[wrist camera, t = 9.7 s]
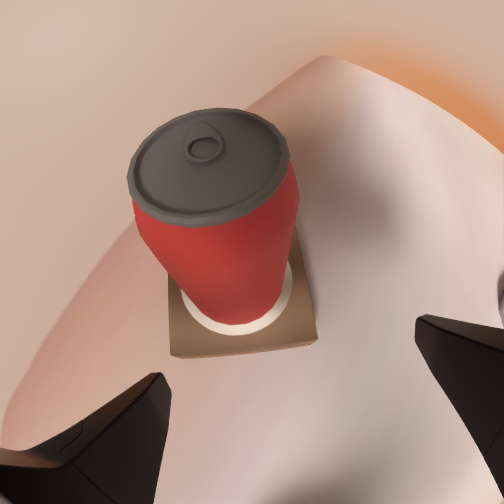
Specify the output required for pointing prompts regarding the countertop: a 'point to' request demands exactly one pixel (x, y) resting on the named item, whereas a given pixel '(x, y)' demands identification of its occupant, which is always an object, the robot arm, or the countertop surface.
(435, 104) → the countertop surface
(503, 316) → the stone block
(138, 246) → the countertop surface
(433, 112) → the countertop surface
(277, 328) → the walnut pedestal
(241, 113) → the beer can
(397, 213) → the countertop surface
